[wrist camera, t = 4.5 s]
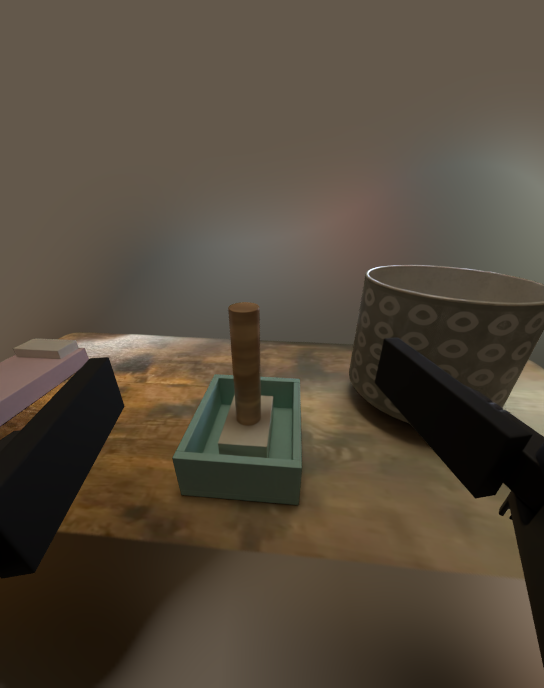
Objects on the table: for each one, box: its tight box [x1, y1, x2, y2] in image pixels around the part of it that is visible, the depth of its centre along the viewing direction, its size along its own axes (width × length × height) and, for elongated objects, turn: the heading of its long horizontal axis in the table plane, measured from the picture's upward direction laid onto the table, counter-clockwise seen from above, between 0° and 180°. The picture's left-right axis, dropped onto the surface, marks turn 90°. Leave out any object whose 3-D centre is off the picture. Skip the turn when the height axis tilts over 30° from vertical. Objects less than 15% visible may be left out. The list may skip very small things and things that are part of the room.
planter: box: [349, 265, 544, 423], centre depth 35 cm, size 19×19×18 cm
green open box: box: [172, 375, 302, 505], centre depth 30 cm, size 14×12×5 cm
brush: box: [218, 302, 273, 458], centre depth 27 cm, size 8×5×17 cm, turn 175°
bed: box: [0, 339, 89, 426], centre depth 38 cm, size 20×10×5 cm, turn 175°
